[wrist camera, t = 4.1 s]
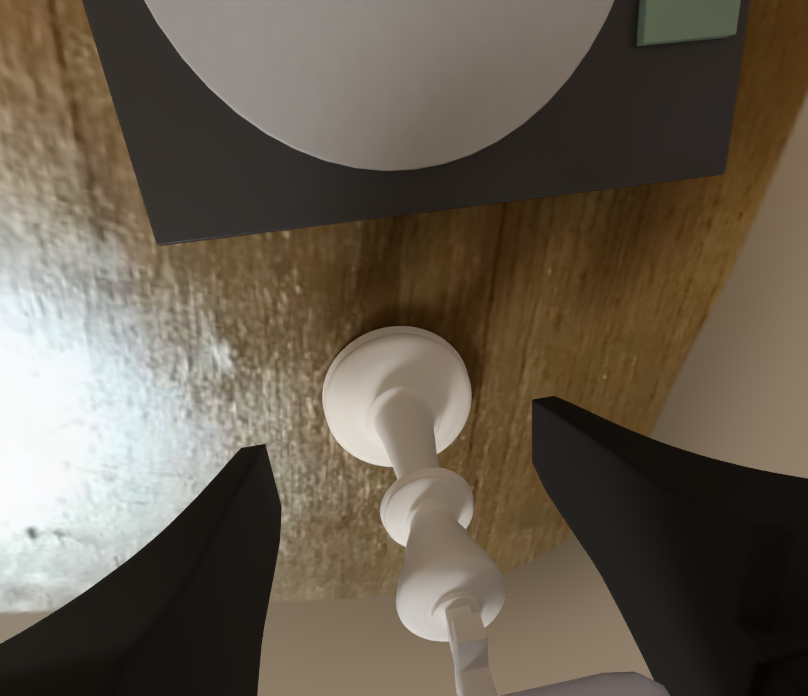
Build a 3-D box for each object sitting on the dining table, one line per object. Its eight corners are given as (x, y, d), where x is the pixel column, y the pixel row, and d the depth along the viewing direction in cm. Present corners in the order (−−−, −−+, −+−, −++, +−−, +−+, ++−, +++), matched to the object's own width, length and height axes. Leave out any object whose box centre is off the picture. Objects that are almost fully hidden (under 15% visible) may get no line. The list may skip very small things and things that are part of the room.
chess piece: (333, 467, 16) (333, 857, 7) (311, 335, 15) (273, 635, 5) (470, 446, 17) (635, 786, 8) (466, 316, 15) (677, 560, 6)
